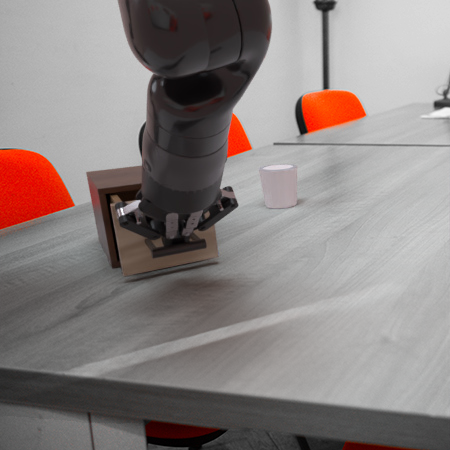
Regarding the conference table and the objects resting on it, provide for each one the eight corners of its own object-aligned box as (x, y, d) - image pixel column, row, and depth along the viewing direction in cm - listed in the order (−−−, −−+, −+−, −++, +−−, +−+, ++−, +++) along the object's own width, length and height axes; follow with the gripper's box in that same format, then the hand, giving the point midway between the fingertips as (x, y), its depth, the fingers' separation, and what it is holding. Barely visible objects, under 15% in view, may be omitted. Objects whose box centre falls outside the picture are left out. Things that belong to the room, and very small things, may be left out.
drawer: (233, 270, 70) (224, 200, 67) (132, 292, 64) (118, 216, 61) (193, 233, 85) (185, 175, 83) (109, 248, 80) (98, 186, 77)
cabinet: (209, 249, 81) (200, 175, 78) (112, 268, 74) (97, 188, 71) (185, 226, 93) (176, 161, 90) (99, 241, 86) (85, 171, 83)
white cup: (308, 203, 105) (305, 165, 103) (278, 211, 100) (274, 172, 98) (284, 198, 109) (280, 162, 107) (254, 206, 104) (250, 168, 102)
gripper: (240, 121, 60) (220, 210, 73) (100, 134, 53) (107, 229, 66) (263, 179, 57) (238, 260, 71) (118, 200, 50) (121, 285, 64)
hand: (174, 245), depth 68 cm, fingers closed
